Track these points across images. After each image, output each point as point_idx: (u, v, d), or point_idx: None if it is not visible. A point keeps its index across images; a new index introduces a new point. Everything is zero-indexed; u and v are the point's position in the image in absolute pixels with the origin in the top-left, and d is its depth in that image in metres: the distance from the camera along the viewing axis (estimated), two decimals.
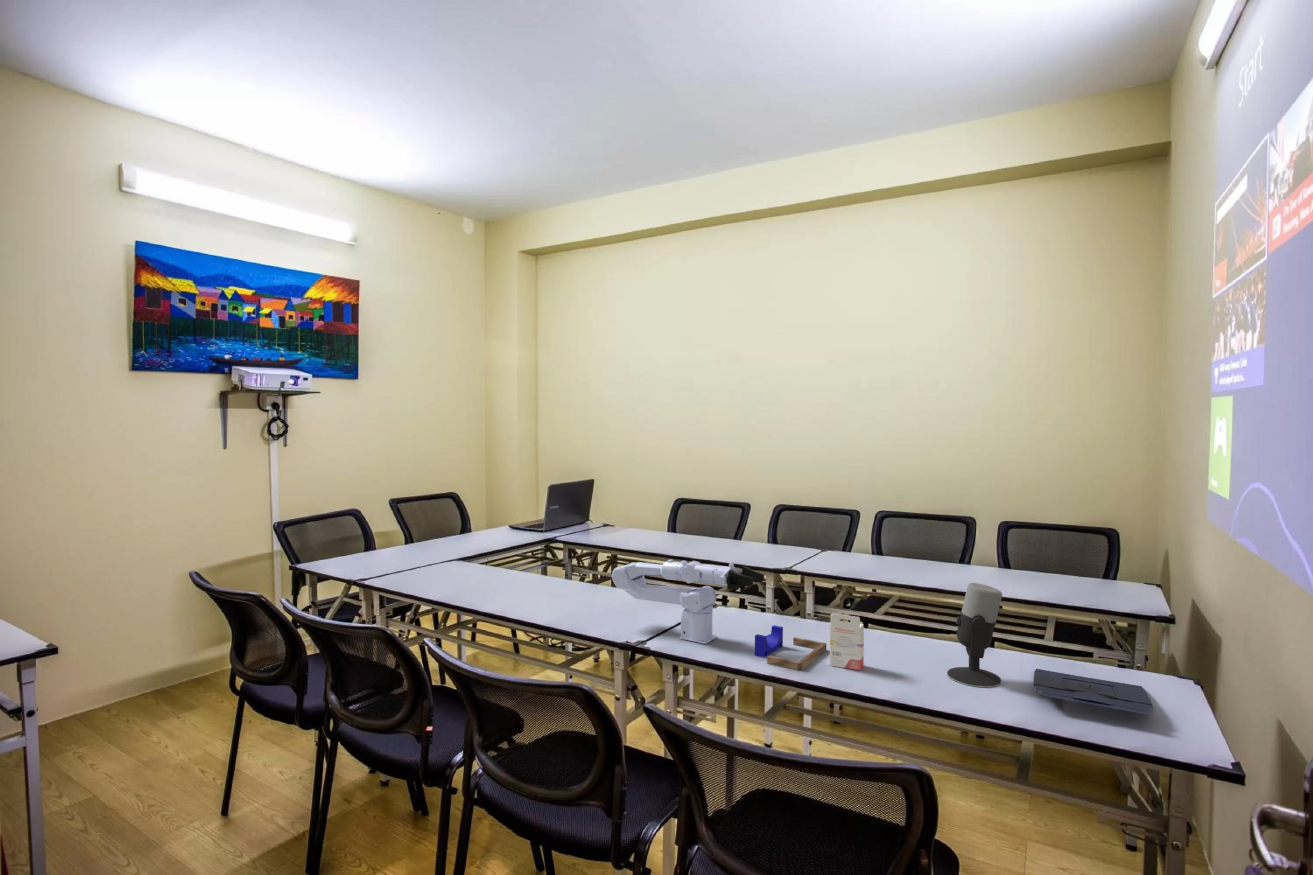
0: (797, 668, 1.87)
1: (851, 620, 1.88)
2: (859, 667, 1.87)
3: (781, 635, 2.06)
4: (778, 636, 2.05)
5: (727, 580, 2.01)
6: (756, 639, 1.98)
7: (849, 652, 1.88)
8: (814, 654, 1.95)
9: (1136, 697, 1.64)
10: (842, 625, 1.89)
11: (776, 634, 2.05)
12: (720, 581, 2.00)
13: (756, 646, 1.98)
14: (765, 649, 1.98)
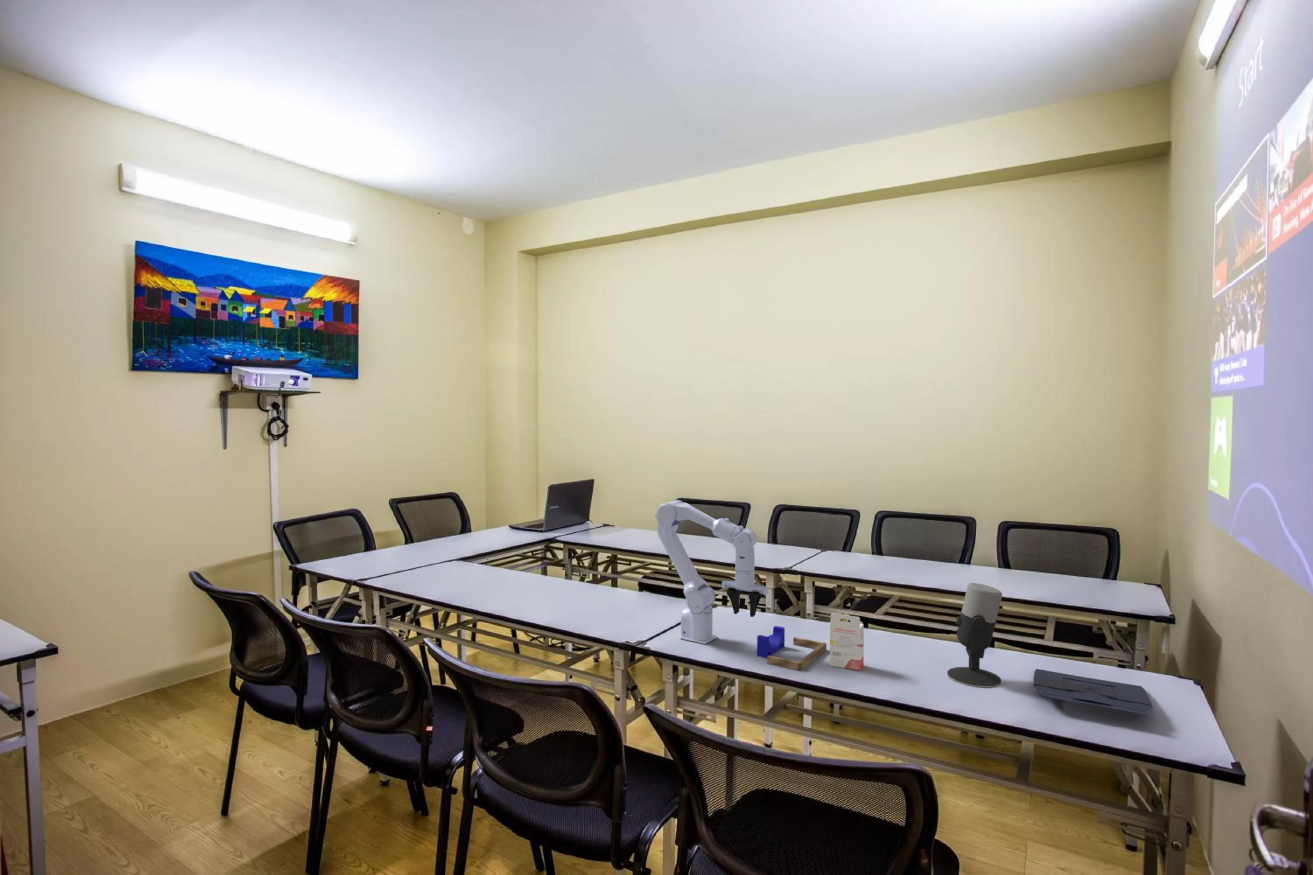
0: (797, 668, 1.87)
1: (851, 620, 1.88)
2: (859, 667, 1.87)
3: (783, 635, 2.05)
4: (780, 636, 2.04)
5: (759, 594, 2.04)
6: (758, 640, 1.98)
7: (849, 652, 1.88)
8: (814, 654, 1.95)
9: (1136, 697, 1.64)
10: (842, 625, 1.89)
11: (778, 635, 2.05)
12: (766, 589, 2.02)
13: (758, 647, 1.98)
14: (768, 650, 1.97)
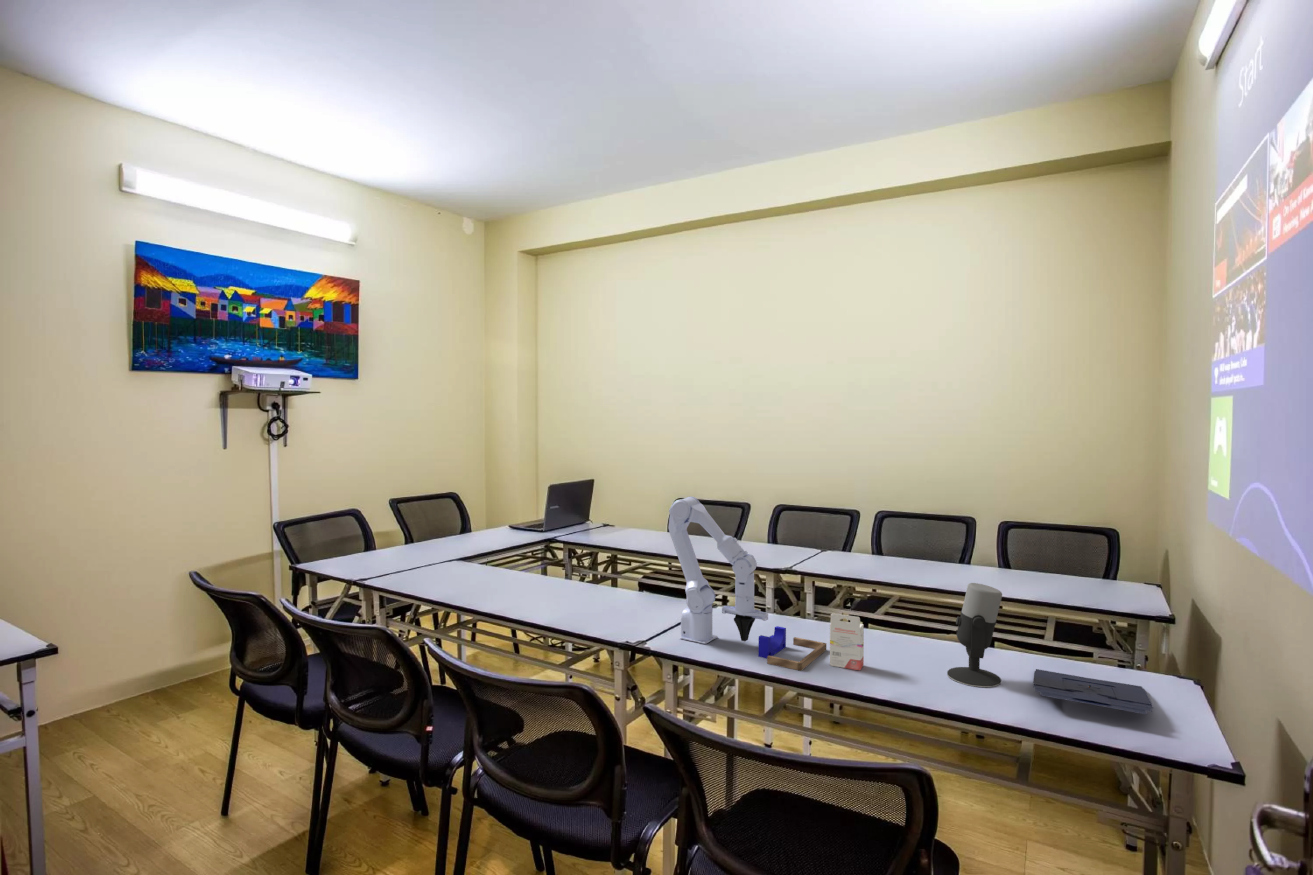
0: (797, 668, 1.87)
1: (851, 620, 1.88)
2: (859, 667, 1.87)
3: (784, 636, 2.05)
4: (781, 637, 2.04)
5: (752, 618, 2.05)
6: (760, 640, 1.97)
7: (849, 652, 1.88)
8: (814, 654, 1.95)
9: (1136, 697, 1.64)
10: (842, 625, 1.89)
11: (779, 635, 2.05)
12: (766, 615, 2.02)
13: (760, 647, 1.97)
14: (769, 650, 1.97)
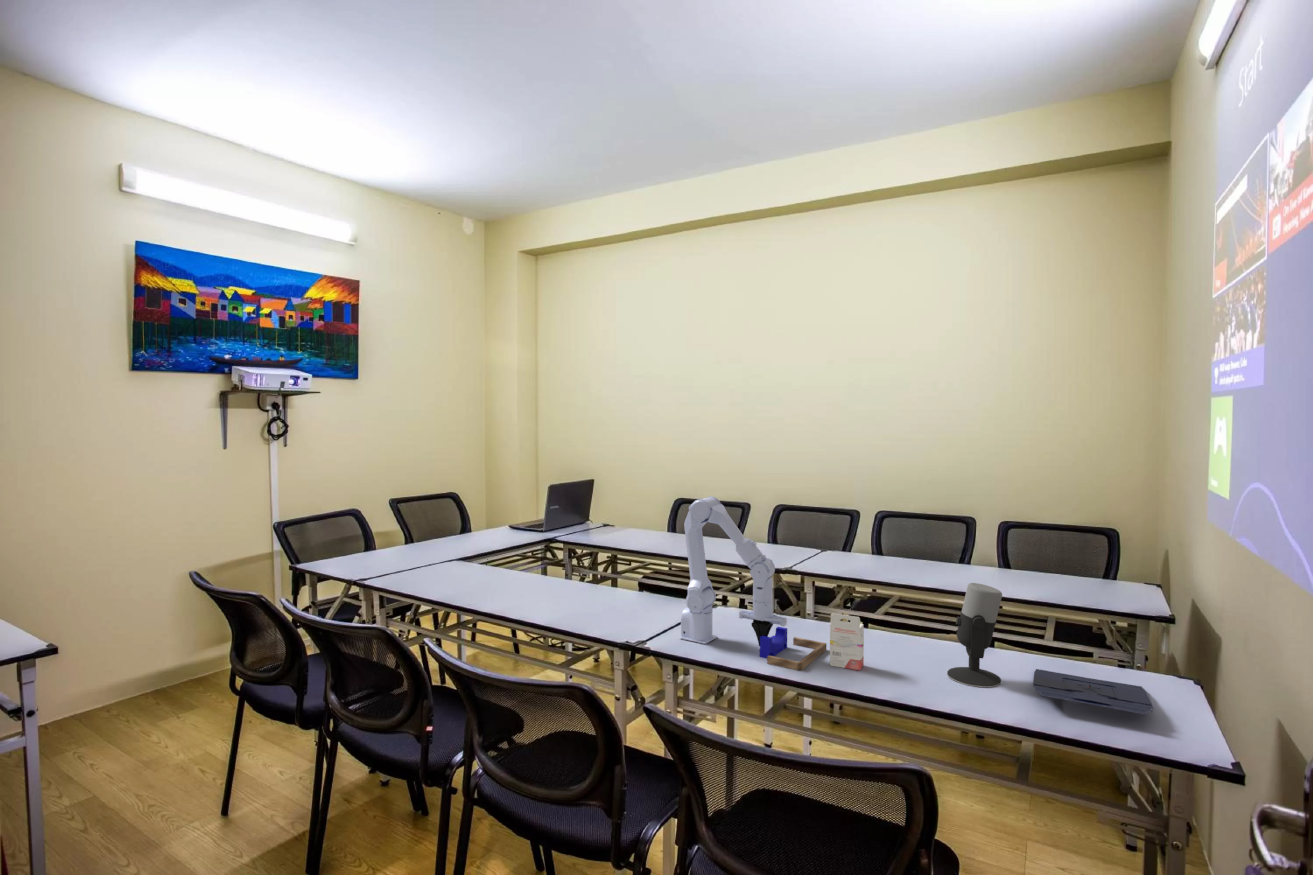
0: (797, 668, 1.87)
1: (851, 620, 1.88)
2: (859, 667, 1.87)
3: (786, 636, 2.05)
4: (783, 637, 2.04)
5: (770, 623, 2.02)
6: (761, 641, 1.97)
7: (849, 652, 1.88)
8: (814, 654, 1.95)
9: (1136, 697, 1.64)
10: (842, 625, 1.89)
11: (780, 635, 2.04)
12: (784, 620, 1.99)
13: (761, 648, 1.97)
14: (770, 651, 1.96)
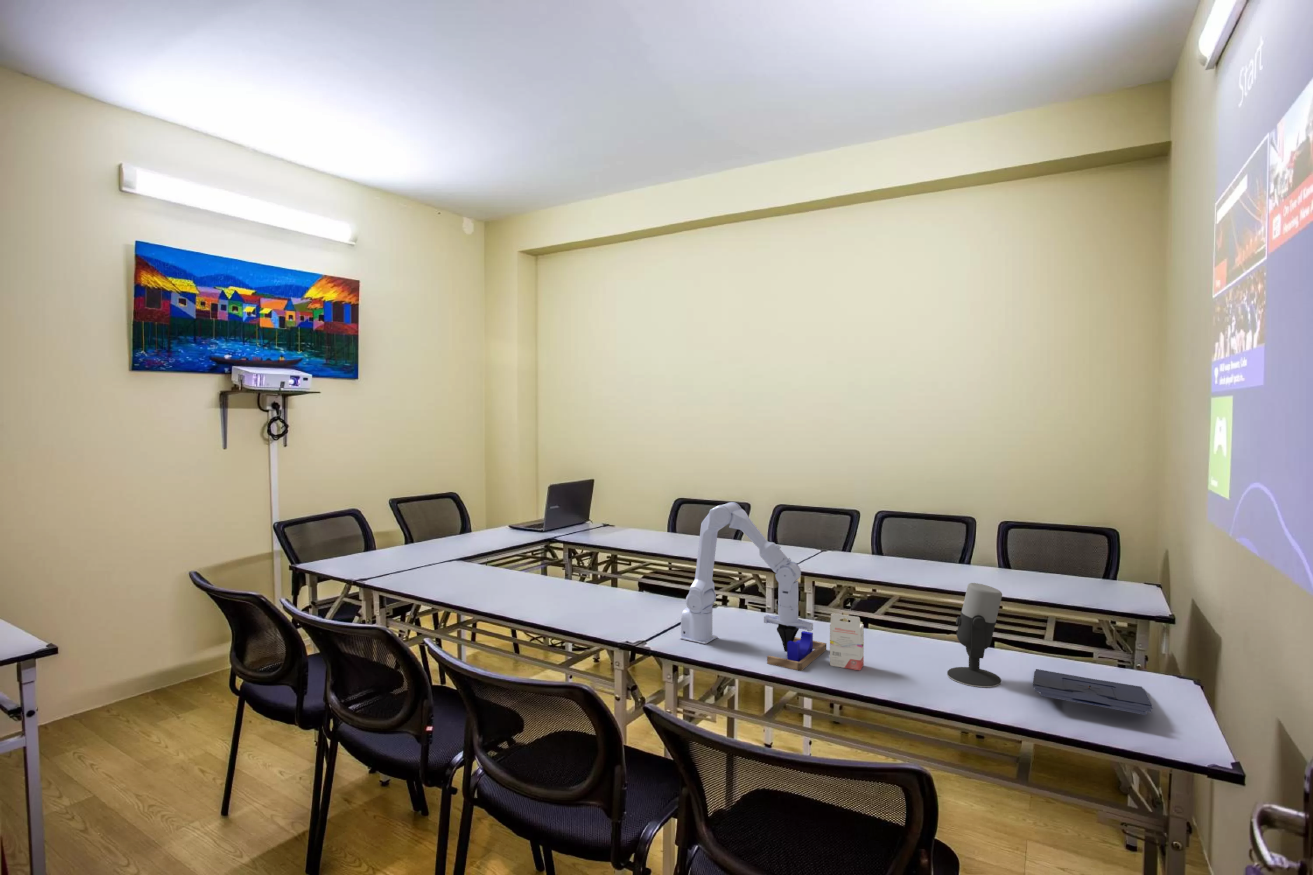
0: (797, 668, 1.87)
1: (851, 620, 1.88)
2: (859, 667, 1.87)
3: (811, 641, 2.00)
4: (808, 642, 2.00)
5: (796, 628, 1.98)
6: (789, 646, 1.92)
7: (849, 652, 1.88)
8: (814, 654, 1.95)
9: (1136, 698, 1.64)
10: (842, 625, 1.89)
11: (806, 640, 2.00)
12: (811, 625, 1.95)
13: (789, 653, 1.93)
14: (798, 656, 1.92)
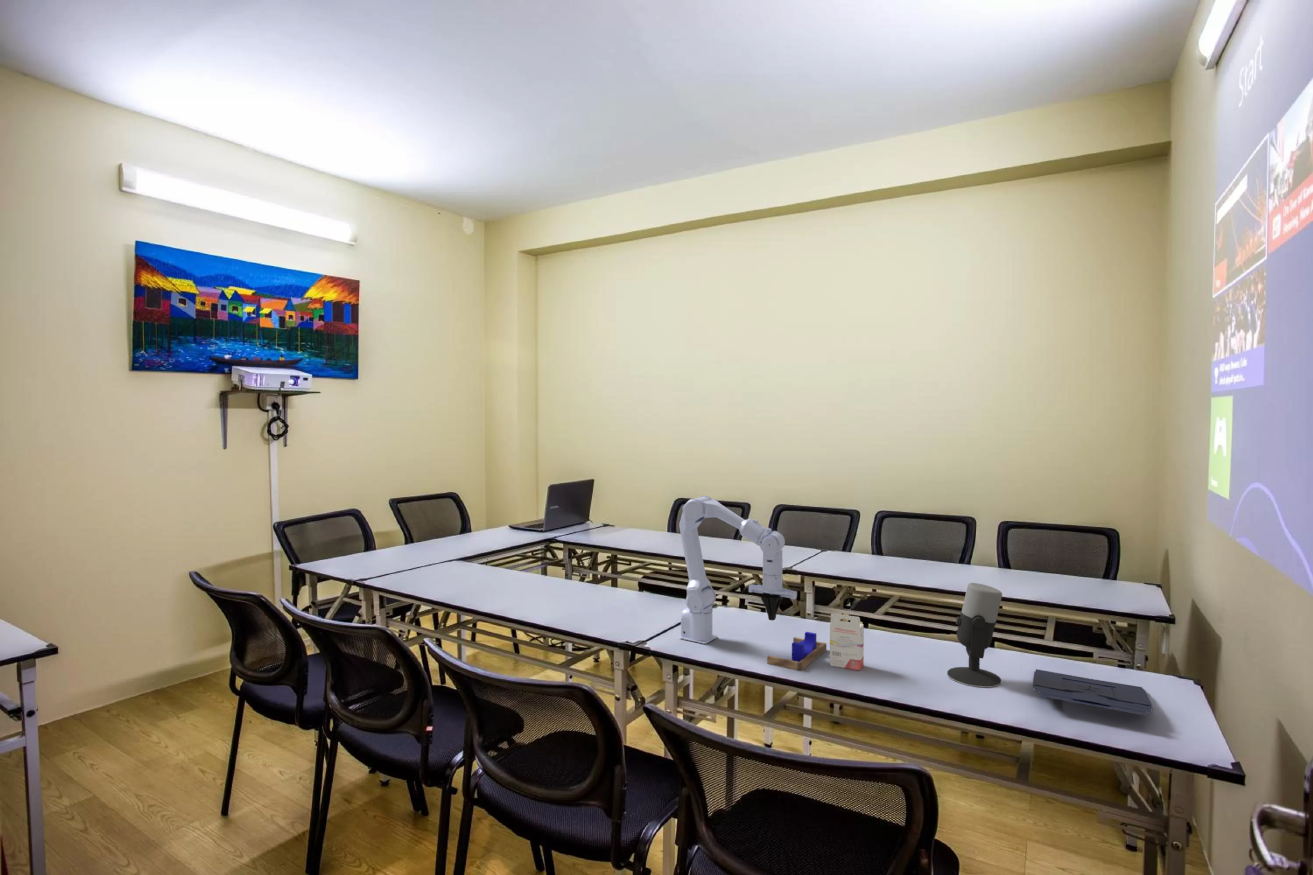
0: (797, 668, 1.87)
1: (851, 620, 1.88)
2: (859, 667, 1.87)
3: (815, 641, 2.00)
4: (812, 643, 1.99)
5: (780, 597, 2.00)
6: (793, 647, 1.92)
7: (849, 652, 1.88)
8: (814, 654, 1.95)
9: (1136, 698, 1.64)
10: (842, 625, 1.89)
11: (810, 641, 1.99)
12: (795, 594, 1.97)
13: (793, 654, 1.92)
14: (803, 657, 1.91)
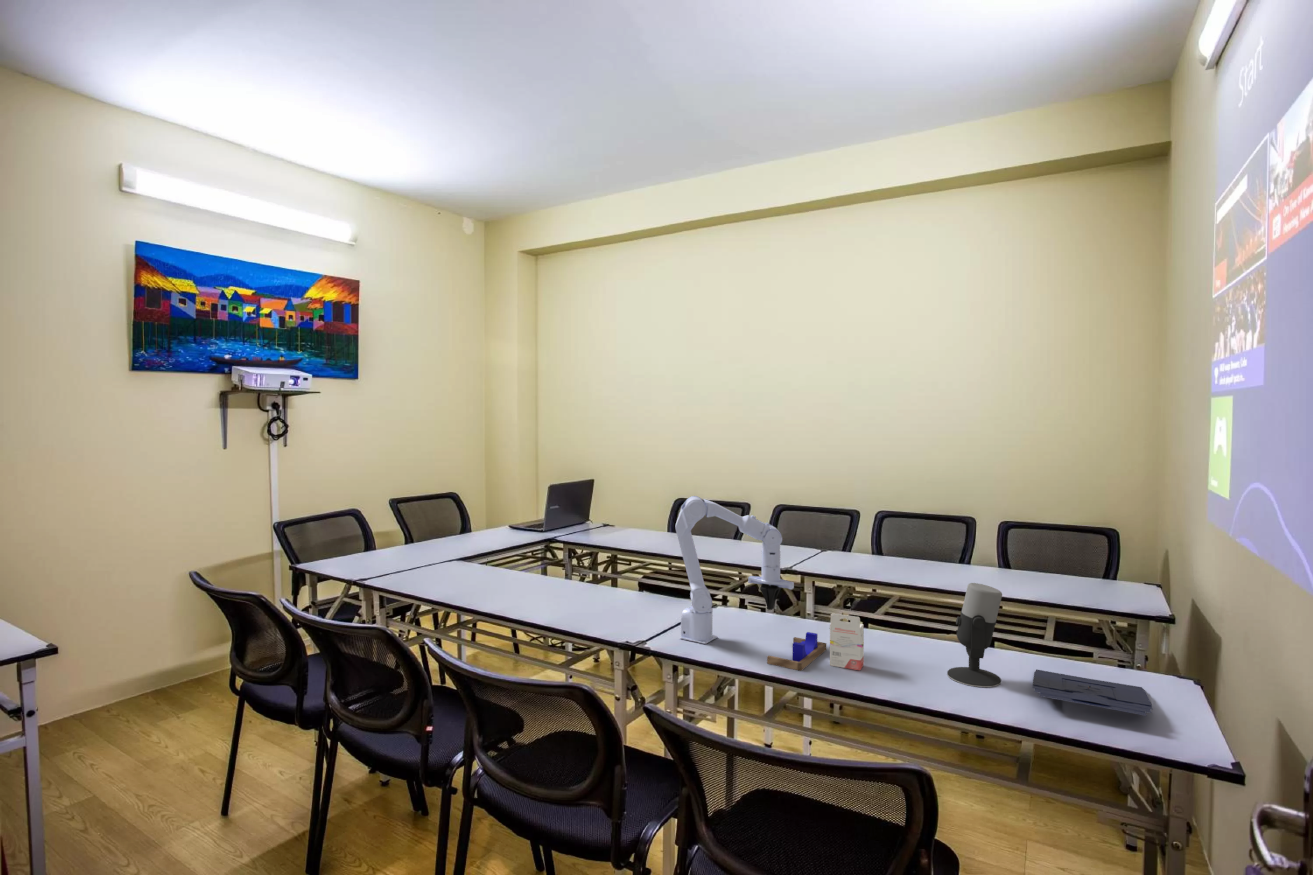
0: (797, 668, 1.87)
1: (851, 620, 1.88)
2: (859, 667, 1.87)
3: (816, 642, 2.00)
4: (813, 643, 1.99)
5: (778, 587, 2.11)
6: (794, 647, 1.91)
7: (849, 652, 1.88)
8: (814, 654, 1.95)
9: (1136, 698, 1.64)
10: (842, 625, 1.89)
11: (811, 641, 1.99)
12: (792, 584, 2.08)
13: (794, 654, 1.92)
14: (803, 657, 1.91)
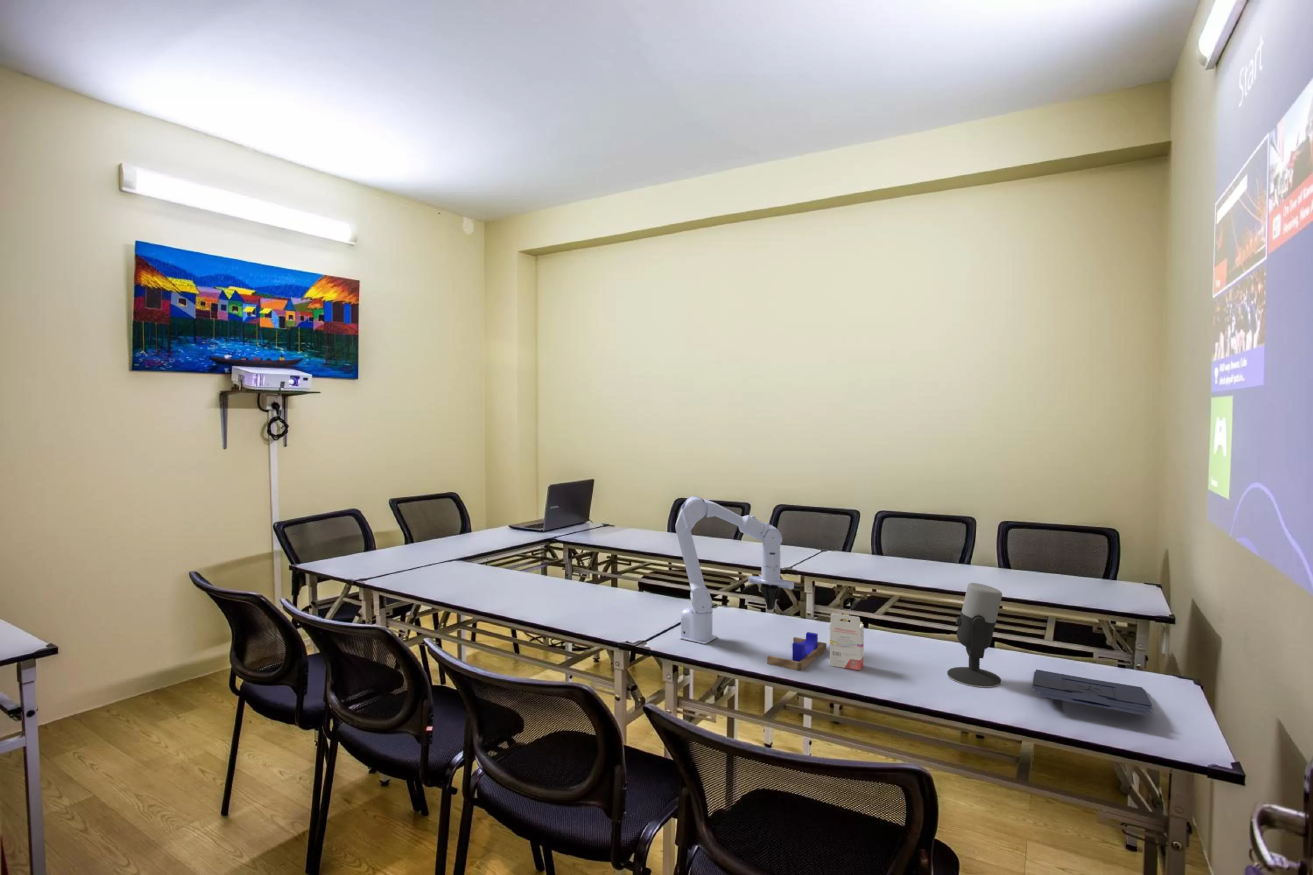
0: (797, 668, 1.87)
1: (851, 620, 1.88)
2: (859, 667, 1.87)
3: (816, 642, 1.99)
4: (813, 643, 1.99)
5: (778, 587, 2.11)
6: (794, 647, 1.91)
7: (849, 652, 1.88)
8: (814, 654, 1.95)
9: (1136, 698, 1.63)
10: (842, 625, 1.89)
11: (811, 641, 1.99)
12: (792, 584, 2.08)
13: (794, 654, 1.92)
14: (803, 657, 1.91)
